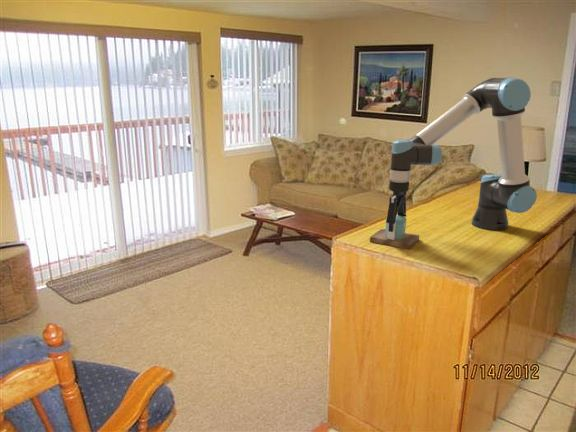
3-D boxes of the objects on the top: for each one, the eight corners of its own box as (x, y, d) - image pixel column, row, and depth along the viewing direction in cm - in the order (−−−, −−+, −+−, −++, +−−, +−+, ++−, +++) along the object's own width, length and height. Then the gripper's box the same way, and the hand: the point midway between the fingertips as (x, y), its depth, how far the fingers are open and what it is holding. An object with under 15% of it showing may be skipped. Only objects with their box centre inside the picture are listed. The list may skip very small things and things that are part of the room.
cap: (407, 235, 194) (408, 217, 192) (401, 240, 188) (402, 222, 186) (388, 232, 198) (390, 214, 196) (382, 237, 191) (383, 218, 189)
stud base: (419, 239, 195) (420, 220, 193) (409, 249, 184) (411, 229, 182) (381, 233, 203) (382, 214, 201) (369, 241, 192) (371, 222, 190)
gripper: (399, 174, 198) (394, 227, 204) (380, 184, 179) (376, 241, 185) (417, 176, 194) (412, 229, 200) (399, 186, 176) (395, 245, 182)
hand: (395, 235), depth 193 cm, fingers closed on stud base, 10 cm apart
